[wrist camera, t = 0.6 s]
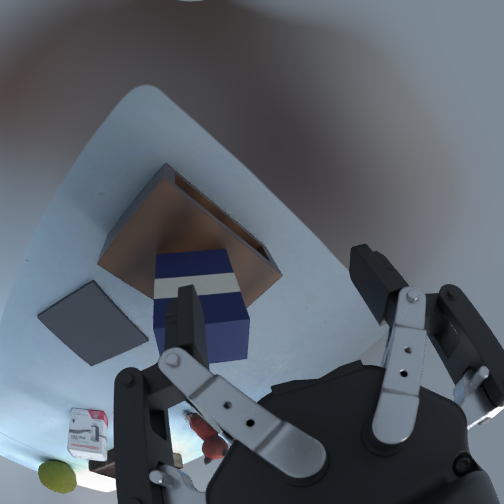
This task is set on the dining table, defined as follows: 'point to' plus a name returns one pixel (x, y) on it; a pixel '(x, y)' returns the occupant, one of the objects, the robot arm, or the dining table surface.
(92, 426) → the ink box
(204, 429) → the stuffed fox
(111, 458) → the hardback book
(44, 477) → the fruit
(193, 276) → the tea box
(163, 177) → the shelf
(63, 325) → the mat
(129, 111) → the dining table surface
